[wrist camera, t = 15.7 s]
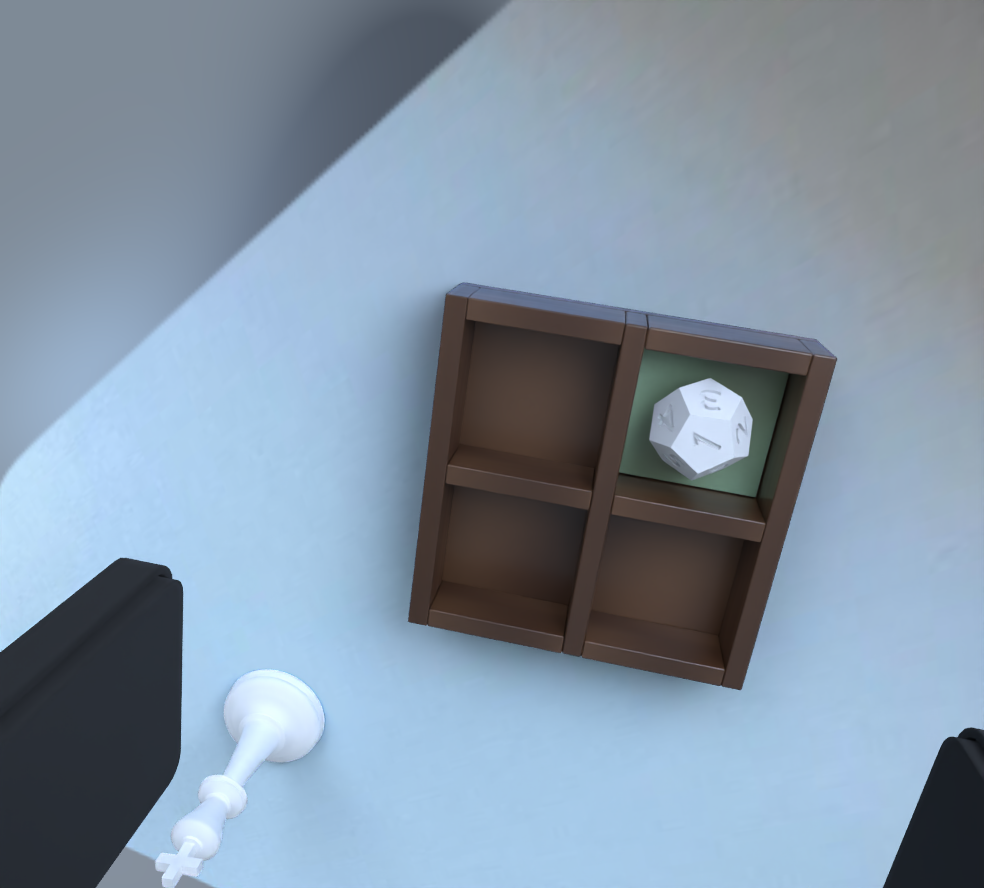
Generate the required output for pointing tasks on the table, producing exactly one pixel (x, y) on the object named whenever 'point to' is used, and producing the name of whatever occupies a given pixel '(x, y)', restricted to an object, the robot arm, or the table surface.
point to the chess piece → (244, 761)
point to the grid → (606, 483)
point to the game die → (701, 428)
